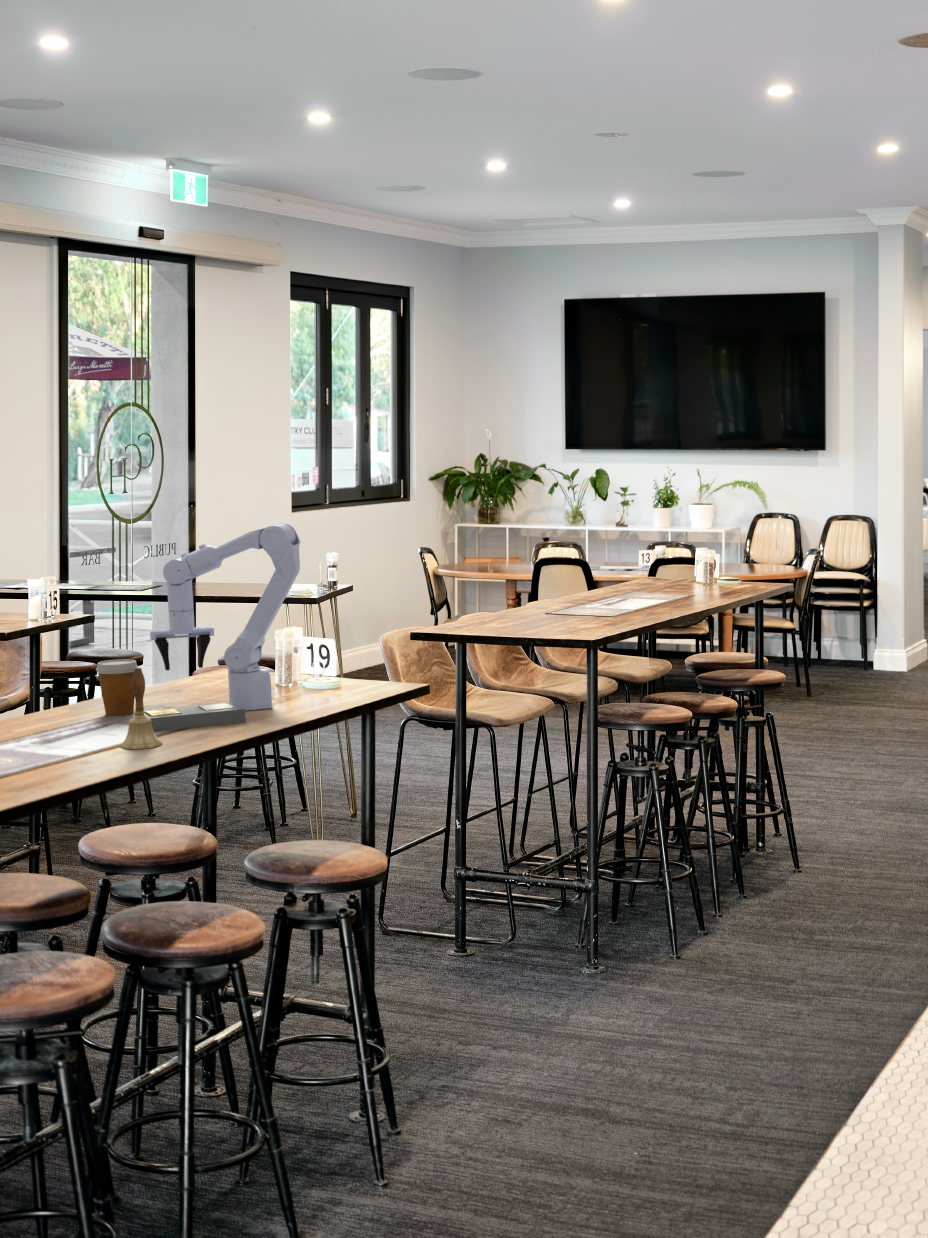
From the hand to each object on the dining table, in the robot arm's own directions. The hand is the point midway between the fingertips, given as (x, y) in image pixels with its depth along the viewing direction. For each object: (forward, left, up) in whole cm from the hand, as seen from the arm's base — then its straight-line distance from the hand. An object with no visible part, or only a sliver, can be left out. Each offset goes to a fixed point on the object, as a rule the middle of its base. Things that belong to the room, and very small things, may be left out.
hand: (184, 668), depth 342 cm
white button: (-2, +20, -9) cm, 22 cm away
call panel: (+4, +20, -9) cm, 22 cm away
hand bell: (+19, +39, -10) cm, 44 cm away
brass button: (+10, +20, -9) cm, 24 cm away
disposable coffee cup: (+15, -2, -10) cm, 18 cm away
